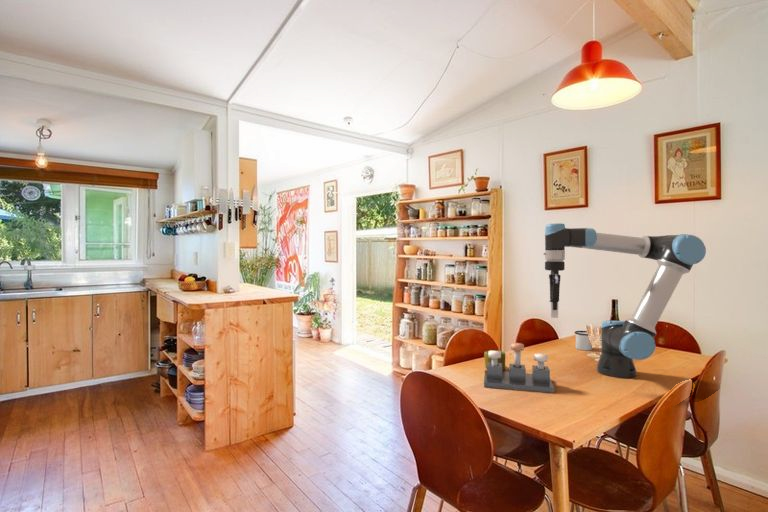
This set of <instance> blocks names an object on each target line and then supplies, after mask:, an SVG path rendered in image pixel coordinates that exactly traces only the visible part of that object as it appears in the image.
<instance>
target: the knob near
mask: <svg viewBox="0 0 768 512" xmlns="http://www.w3.org/2000/svg"><path fill="white" fill-rule="evenodd" d="M533 356H534V357H533V359H534V361H536V362H537V366H538V369H544V366H545V363H546V362H548V361H549V360H548V357H549V355H548V354H545V353H534V355H533Z"/></svg>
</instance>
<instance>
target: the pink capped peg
mask: <svg viewBox="0 0 768 512" xmlns="http://www.w3.org/2000/svg"><path fill="white" fill-rule="evenodd" d="M510 349H511V350H512V351H514V353H513V354H514V355H513V357H514V358H513V359H514V360H513V361H514V362H513V364H514V367H518V368H520V365H521V358H522V357H521V352H523V351H524V350H525V344H523V343H521V342H513V343H510Z"/></svg>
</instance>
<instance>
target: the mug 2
mask: <svg viewBox="0 0 768 512" xmlns="http://www.w3.org/2000/svg"><path fill="white" fill-rule="evenodd" d="M587 331H588V330H587ZM587 331H586V330H575V331H574V334H575V349H576V350H580V351H585V352H588V351H589V352H590V351H592V350H593V349H592V345H591V343H590V340H589V337H588V334H587Z"/></svg>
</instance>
